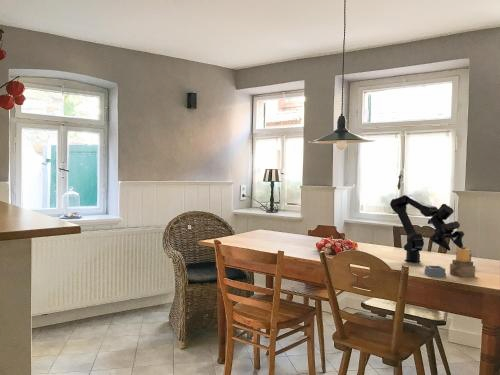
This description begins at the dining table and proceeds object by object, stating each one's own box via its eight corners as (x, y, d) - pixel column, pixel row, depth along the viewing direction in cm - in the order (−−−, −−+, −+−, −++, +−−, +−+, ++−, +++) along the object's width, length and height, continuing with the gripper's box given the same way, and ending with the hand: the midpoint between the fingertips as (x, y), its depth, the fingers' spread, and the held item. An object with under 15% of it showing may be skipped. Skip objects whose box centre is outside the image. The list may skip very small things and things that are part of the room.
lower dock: (424, 273, 220) (424, 265, 220) (439, 273, 220) (440, 265, 220) (429, 276, 213) (430, 268, 213) (445, 277, 213) (446, 269, 212)
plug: (456, 264, 220) (457, 246, 220) (462, 263, 222) (462, 246, 221) (463, 265, 216) (463, 248, 216) (468, 265, 218) (469, 247, 218)
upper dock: (449, 273, 221) (450, 259, 221) (461, 272, 225) (461, 258, 224) (463, 277, 214) (463, 262, 214) (474, 276, 217) (475, 262, 217)
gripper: (435, 216, 223) (452, 241, 213) (462, 215, 231) (479, 239, 221) (423, 229, 231) (439, 254, 221) (449, 228, 238) (465, 252, 228)
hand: (456, 249), depth 223 cm, fingers open, 9 cm apart
